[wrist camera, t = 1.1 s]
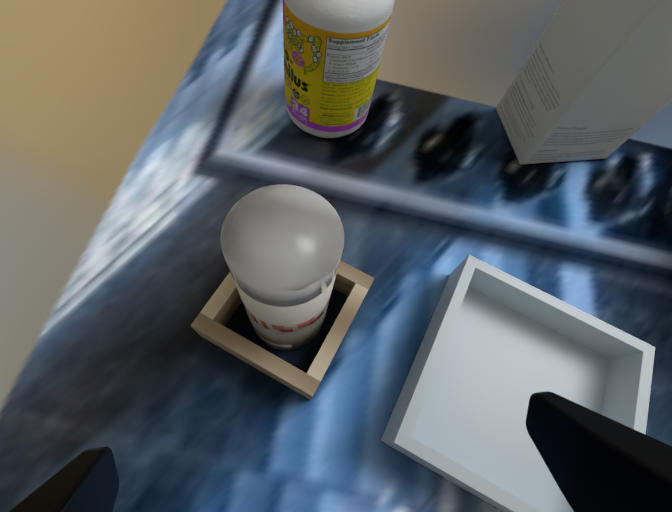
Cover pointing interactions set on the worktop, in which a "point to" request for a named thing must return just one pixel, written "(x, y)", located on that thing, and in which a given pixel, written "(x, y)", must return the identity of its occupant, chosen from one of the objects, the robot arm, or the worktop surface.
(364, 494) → the worktop surface
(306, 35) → the supplement bottle
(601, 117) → the skincare box
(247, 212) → the white domed canister
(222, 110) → the worktop surface
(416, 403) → the tray
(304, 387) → the holder
